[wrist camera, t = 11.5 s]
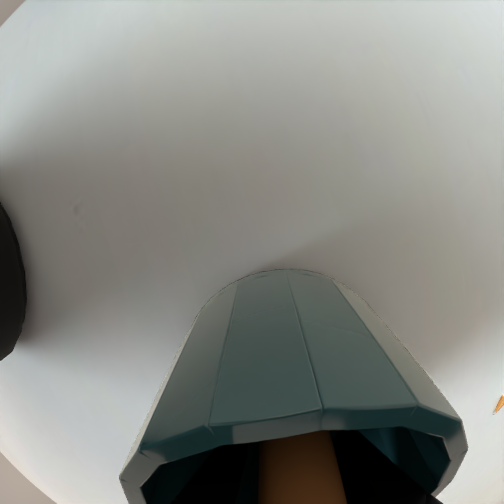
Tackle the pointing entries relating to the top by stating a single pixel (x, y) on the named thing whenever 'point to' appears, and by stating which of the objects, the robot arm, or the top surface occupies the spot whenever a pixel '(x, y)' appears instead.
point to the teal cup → (290, 387)
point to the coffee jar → (10, 287)
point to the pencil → (500, 404)
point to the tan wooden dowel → (300, 471)
